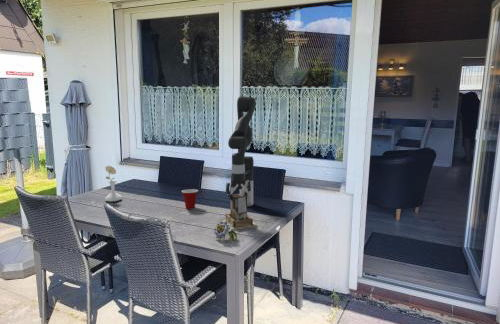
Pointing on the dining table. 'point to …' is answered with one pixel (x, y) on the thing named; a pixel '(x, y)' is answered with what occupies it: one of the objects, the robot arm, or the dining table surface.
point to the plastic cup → (189, 198)
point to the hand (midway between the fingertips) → (238, 199)
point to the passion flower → (224, 231)
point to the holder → (240, 222)
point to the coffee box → (238, 207)
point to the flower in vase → (112, 186)
